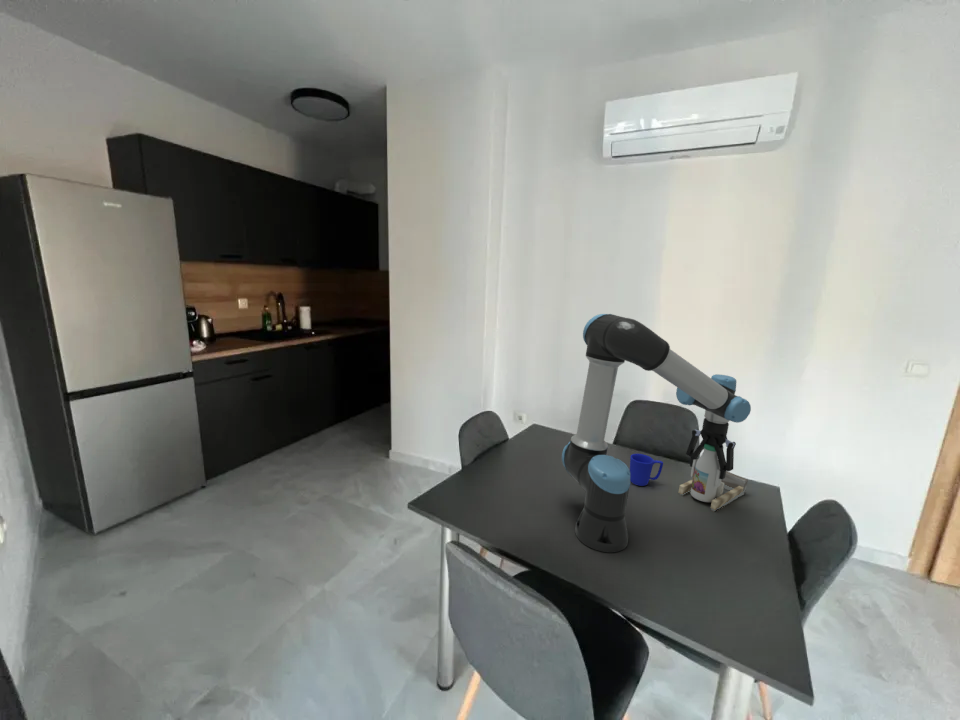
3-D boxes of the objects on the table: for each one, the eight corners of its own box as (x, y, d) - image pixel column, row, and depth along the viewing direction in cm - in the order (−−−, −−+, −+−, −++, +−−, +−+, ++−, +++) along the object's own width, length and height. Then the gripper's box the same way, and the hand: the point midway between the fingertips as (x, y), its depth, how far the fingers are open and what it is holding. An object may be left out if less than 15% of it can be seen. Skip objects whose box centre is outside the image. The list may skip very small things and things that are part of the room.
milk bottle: (708, 492, 149) (718, 441, 145) (718, 504, 141) (729, 450, 137) (686, 490, 150) (695, 439, 145) (695, 501, 142) (705, 448, 138)
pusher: (719, 501, 144) (723, 483, 143) (694, 490, 151) (698, 473, 150) (724, 498, 147) (728, 480, 145) (700, 487, 154) (703, 470, 152)
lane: (714, 511, 139) (717, 495, 137) (678, 494, 149) (680, 479, 148) (744, 494, 151) (747, 479, 150) (709, 479, 162) (711, 465, 160)
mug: (663, 489, 152) (668, 464, 150) (631, 487, 152) (635, 462, 150) (655, 478, 160) (658, 454, 158) (624, 476, 160) (627, 452, 158)
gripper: (754, 428, 133) (741, 491, 138) (692, 409, 150) (682, 466, 155) (743, 432, 129) (730, 497, 134) (681, 412, 145) (671, 471, 150)
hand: (705, 481), depth 144 cm, fingers closed on milk bottle, 8 cm apart
